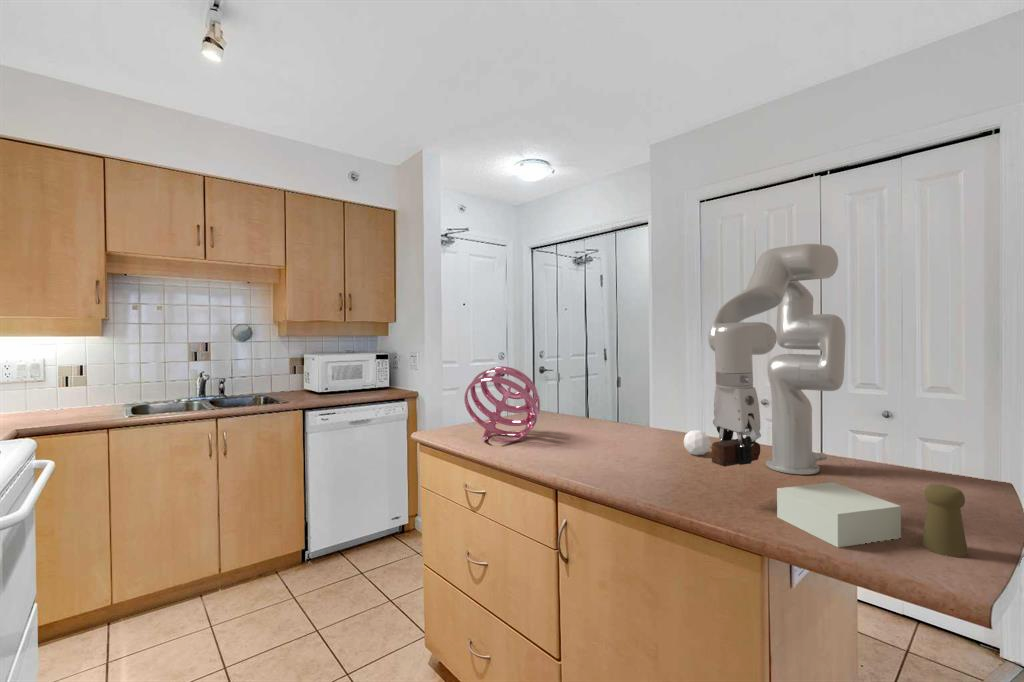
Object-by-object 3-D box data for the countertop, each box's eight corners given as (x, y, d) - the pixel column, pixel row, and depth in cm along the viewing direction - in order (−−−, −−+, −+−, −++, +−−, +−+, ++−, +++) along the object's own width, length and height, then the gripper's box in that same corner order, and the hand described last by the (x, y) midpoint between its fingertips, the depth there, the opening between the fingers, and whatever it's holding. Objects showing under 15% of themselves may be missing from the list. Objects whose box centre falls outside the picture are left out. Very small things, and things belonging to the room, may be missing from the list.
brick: (725, 468, 101) (725, 446, 101) (711, 463, 105) (710, 442, 104) (761, 460, 105) (760, 439, 105) (746, 456, 109) (746, 436, 108)
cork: (911, 542, 84) (911, 481, 84) (942, 540, 85) (942, 480, 84) (945, 558, 78) (945, 493, 78) (978, 556, 78) (978, 491, 78)
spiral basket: (500, 395, 147) (525, 344, 167) (436, 409, 162) (466, 361, 182) (541, 455, 158) (561, 400, 178) (478, 463, 173) (502, 412, 193)
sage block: (833, 510, 99) (833, 482, 99) (901, 538, 86) (900, 506, 85) (777, 517, 96) (776, 488, 96) (837, 547, 83) (837, 514, 82)
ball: (702, 462, 146) (717, 441, 146) (697, 459, 139) (713, 437, 139) (681, 447, 150) (696, 427, 150) (676, 443, 144) (691, 422, 144)
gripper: (777, 383, 96) (779, 470, 97) (723, 374, 113) (725, 448, 114) (746, 386, 95) (748, 474, 96) (696, 376, 111) (698, 452, 112)
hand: (736, 459), depth 105 cm, fingers closed on brick, 4 cm apart
